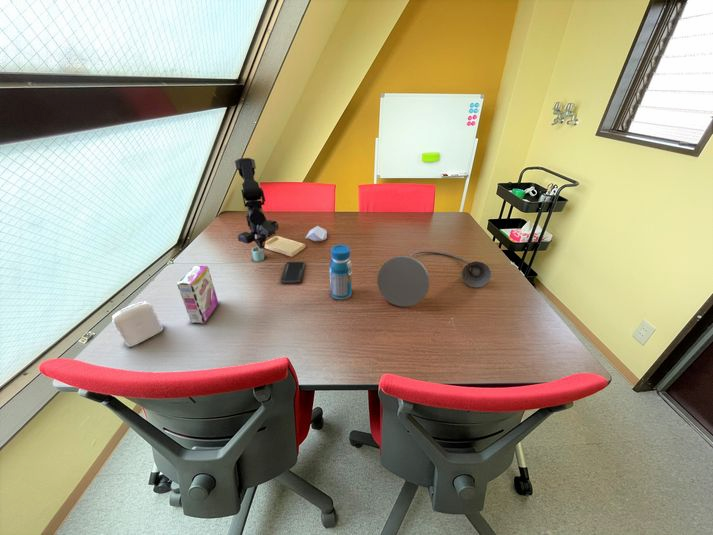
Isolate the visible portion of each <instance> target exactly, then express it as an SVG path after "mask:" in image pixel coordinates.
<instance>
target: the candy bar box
mask: <svg viewBox="0 0 713 535" xmlns="http://www.w3.org/2000/svg"><path fill="white" fill-rule="evenodd" d="M176 285H177V289H178V291H179V293H180V296H181V299H182V302H183V305H184V306H185V307H184V308H185V310H186V313H187V316H188V318H189V321H190V323H191V324H205V323H206V322H207V321H208V319H209V318H210V316H211V314H212V313H213V312H214V311H215V309H216V307H217V306H218V305H219V300H218V297H217V293H216V289H215V286H214V282H213V279H212V276H211V272H210V268H209V266H208V265H194V266H193V267H191V269H190V270H189V271H188V272H187V273H186V274H185V275H184V276H183V277H182V278H181V279H180V280H179V281H178V282H177V283H176Z"/></svg>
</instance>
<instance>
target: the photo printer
mask: <svg viewBox="0 0 713 535" xmlns="http://www.w3.org/2000/svg"><path fill="white" fill-rule="evenodd" d="M111 319H112V323H113V325H114V327H115V328H116V330H117V332H118V333H119V335H120V337H121V338H122V340H123V342H124V343H125V345H126V346H127V347H131V348H132V347H134V346H136V345H138V344H140V343H142V342H145V341H146V340H148V339H150V338H152V337H154V336H156V335H157V334H160V333H161V332H163V330H164V328H163V325H162V323H161V321H160V319H159V317H158V315H157V313H156V310H155V309H154V307H153V305H152V304H151V303H149V302H148V301H147V300H145V301H140V302H136V303H133V304H130V305H128V306H125V307H124V308H122V309H120V310H118V311H117V312H115V313H114V314H113V315H111Z"/></svg>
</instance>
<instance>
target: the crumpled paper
mask: <svg viewBox="0 0 713 535" xmlns="http://www.w3.org/2000/svg"><path fill="white" fill-rule="evenodd" d="M327 233H328V232H327V229H325V228H322V227H320V226H319V225H316V226H315V227H314V228H312V229H311V228H310V230H309V231H308V233H307V234H306V236H305V237H304V239H310V240H311V241H314V242H323V241H324V240H326V239H328V234H327Z"/></svg>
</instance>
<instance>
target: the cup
mask: <svg viewBox="0 0 713 535" xmlns="http://www.w3.org/2000/svg"><path fill="white" fill-rule="evenodd" d="M258 250H259V246H254V247H252V248H251V253H252V260H253V261H255V262H261V261H264V259H265V254H264V253H265V252H264V248H263V249H261V250H260V251H258Z"/></svg>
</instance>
